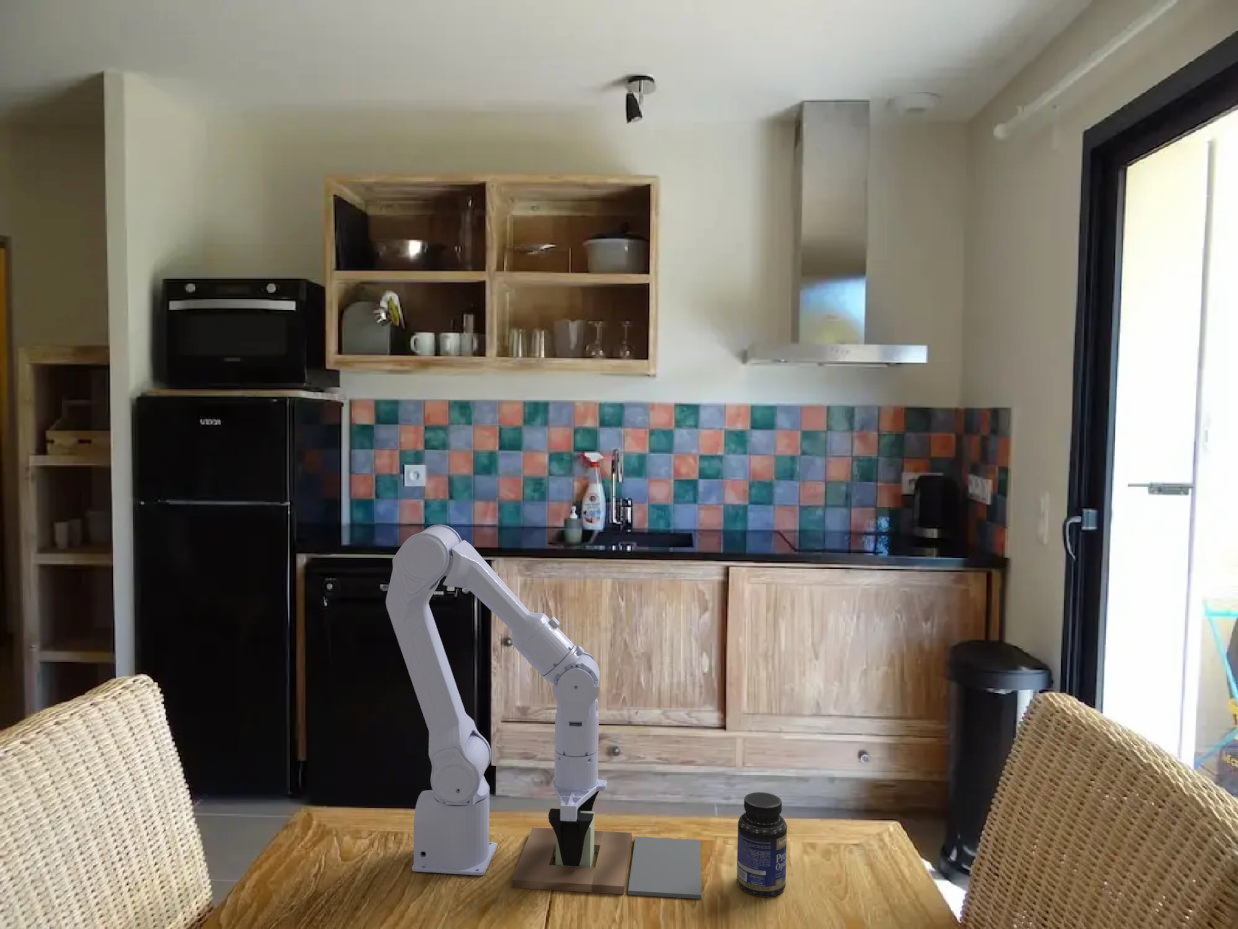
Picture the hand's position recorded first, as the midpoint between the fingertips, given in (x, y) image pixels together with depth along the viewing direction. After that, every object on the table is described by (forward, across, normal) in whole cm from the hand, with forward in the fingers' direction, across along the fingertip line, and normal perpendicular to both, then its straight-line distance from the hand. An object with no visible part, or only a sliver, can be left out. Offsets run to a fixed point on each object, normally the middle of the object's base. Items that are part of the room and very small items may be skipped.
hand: (575, 850), depth 114 cm
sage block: (+2, 0, 0) cm, 2 cm away
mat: (+2, 0, -12) cm, 12 cm away
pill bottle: (+2, -3, -24) cm, 24 cm away
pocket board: (+2, 0, 0) cm, 2 cm away
